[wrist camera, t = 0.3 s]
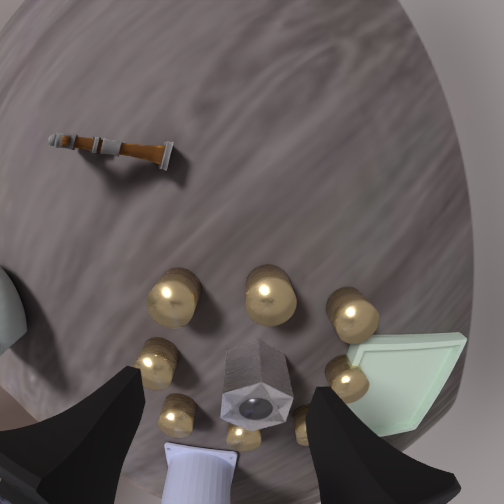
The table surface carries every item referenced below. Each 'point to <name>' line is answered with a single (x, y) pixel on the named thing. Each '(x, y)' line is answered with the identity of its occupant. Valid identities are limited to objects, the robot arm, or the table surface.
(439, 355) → the tray
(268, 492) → the table surface
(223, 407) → the steel nut
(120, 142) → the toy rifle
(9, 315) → the air freshener
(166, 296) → the set of brass balls
